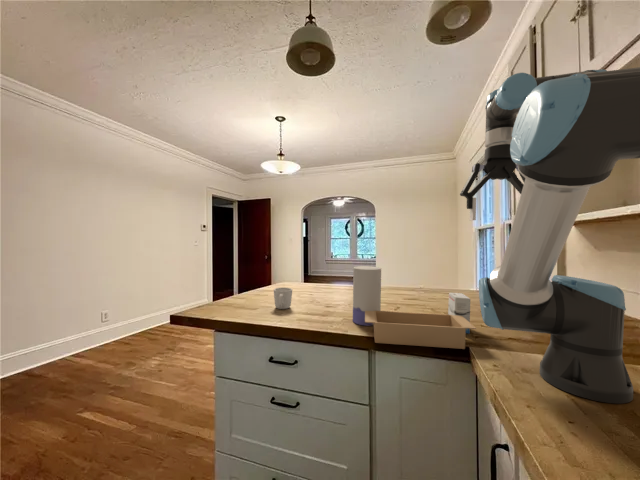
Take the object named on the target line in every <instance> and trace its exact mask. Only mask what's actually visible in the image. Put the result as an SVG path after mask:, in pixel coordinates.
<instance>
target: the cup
mask: <svg viewBox="0 0 640 480" xmlns="http://www.w3.org/2000/svg"><path fill="white" fill-rule="evenodd" d="M273 299H274V307H275V308H277V309H278V310H287V309H289V308H290V307H291V305H292V299H293V288H290V287H276V288H274V289H273Z"/></svg>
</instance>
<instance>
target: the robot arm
mask: <svg viewBox="0 0 640 480" xmlns="http://www.w3.org/2000/svg"><path fill="white" fill-rule="evenodd" d="M485 103H486V104H485V109H484V110H485V136H484V147H485V149H484V164H481V163H479V162H477V163H475V164H473V165H472V168H471V173H470V175H469V177H468V179H467V180H466V182H465V183H464V185H463V188H462V189H461V191H460V193H459V195H460V197H464V198H465V199H466V209H467V210H469V221H476V218H477V197H474V196H476V194H477V193H478V192H479V191H480V190H481V188H482V187H484V186H485V184H486V183H487V182H488V181H489V180H492V181H494V180H501V181H502V180H507V182H509V183H510V184H511V186H512V187H513V188H514V189H515V190H516V191H518V193H519V195H520V197H519V200H518V204H517V207H516V211H515V214H514V219H513V222H512V225H511V229H510V232H509V236H508V239H507V242H506V247H505V251H504V253H503V257H502V262H501V265H498V266H497V267H495V268H493V270H492V271H491V272H490V276H489V277H481V278H479V280H478V299H479V307H480V313H481V317H482V322H483V323H484V324H485V325H486V326H487V327H489V328H494V329H500V330H502V331H503V330H508V331H518V332H519V331H520V332H528V333H540V334H547V335H550V341H549V344H548V346H547V348H546V350H545V352H544V353H543V357H542V359H541V360H540V363H539V375H540V377H541V378H542V379H543V380H544V381H546V382H547V383H548V384H550V385H552V386H554V387H555V388H557V389H559V390H561V391H564V392H566V393H568V394H571V395H574V396H577V397H581V398H584V399H587V400H591V401H595V402H601V403H607V404H627V403H630V402H631V401H633V400H634V385H633V383H632V381H631V378H630V374H629V372H628V370H627V366H626V364H625V362H624V359H623V349H624V348H623V345H624V329H625V327H624V326H625V312H626V310H627V308H626V302H625V301H626V300H625V293H624V291H623V290H622V289H621V288H620V287H618V286H616V285H613V284H610V283H605V282H601V281H595V280H592V279H588V278H587V279H586V278H582V277H581V278H580V277H575V276H567V275H559V274H555V275H553V276H552V273H553V271H554V270H555V267H556V265H557V262H558V260H559V258H560V256H561V253H562V251H563V249H564V247H565V244H566V242H567V240H568V238H569V235H570V233H571V231H572V229H573V226H574V224H575V222H576V219H577V218H578V216H579V214H580V211H581V209H582V206H583V204H584V202H585V200H586V197H587V196H588V193H589V191H590V189H591V187H592V186H597V185H599V184H601V183H604V182H605V181H606V180H607V179H609V177H610V176H611V173H612V172H613V170H614V167H615V166H616V164H617V162H618V161H620V160H632V159H633V160H635V159H640V66H639V67H631V68H622V69H620V68H619V69H614V70H612V69H611V70H606V69H588V70H584V71H577V72H568V73H563V74H556V75H549V76H548V75H547V76H540V77H539V76H538V77H534V75H532V74H529V73H526V72H517V73H515V74H512V75H510V76H508V77H507V78H506V79H505V80H504V82H502V84H501V85H500V86H499V88H497V89H495V90H493V91H492V92H490V93H489V94H488V95H487V96H486V102H485ZM482 170H483V171H484V173H485V174H484V175H483V177H482V178H481V179H480V180H479V181H478V182H477V183H476V184H475V186H474V187H473V188H472V189H471V187H472V185H474V182H475V180H476V178H477V177H478V174H480V173H479V172H481V171H482ZM515 170H516V171H517V172H518V173H519V176H520V178H521V180H522V181H521V180H520V178H519V177H518V175H517V174H516V173H515V172H514V171H515ZM470 189H471V190H470ZM551 276H552V277H551ZM550 278H551V280H550Z"/></svg>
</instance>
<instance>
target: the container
mask: <svg viewBox="0 0 640 480" xmlns="http://www.w3.org/2000/svg"><path fill="white" fill-rule="evenodd" d="M352 268H353V275H352V276H353V278H352V279H353V281H352V283H353V284H352V288H353V289H352V322H353V323H354V324H356V325H360V326H365V327H368V326H370V327H374V323H365V311H382V310H381V304H382V301H381V299H382V296H381V295H382V268H381V267H379V266H371V265H357V266H354V267H352Z"/></svg>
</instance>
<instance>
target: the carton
mask: <svg viewBox="0 0 640 480" xmlns="http://www.w3.org/2000/svg"><path fill="white" fill-rule="evenodd" d="M365 323H374V325H373V337H374V343H376V344H386V345H387V344H388V345H389V344H390V345H402V346H403V345H405V346H417V347H418V346H419V347H428V348H429V347H433V348H443V349H444V348H445V349H448V348H449V349H460V350H461V349H462V350H465V349H466V333H465V332H466V329H470V330H476V329H477V327H475V325H473V324H472V323H471V321H470V322H469V321H467V320H466V319H465V318H464V317H463V316H456V315H448V313H447V314H445V313H444V314H443V313H426V312H407V311H390V310H389V311H388V310H387V311H386V310H380V311H365Z"/></svg>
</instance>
